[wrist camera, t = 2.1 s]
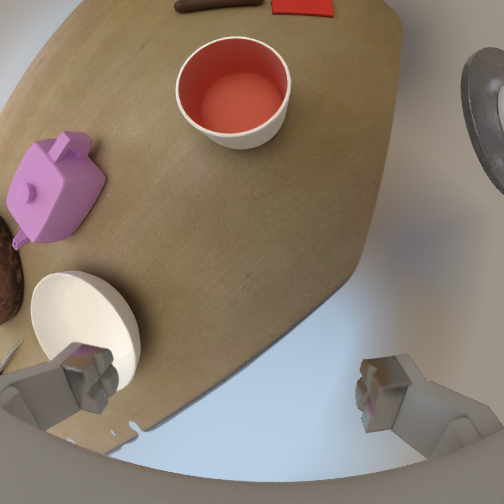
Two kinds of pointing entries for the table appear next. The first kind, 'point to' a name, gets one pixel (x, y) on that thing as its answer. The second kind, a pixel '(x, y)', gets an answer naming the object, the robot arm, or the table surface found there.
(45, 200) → the teapot
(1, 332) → the table surface
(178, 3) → the spatula
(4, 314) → the saucepan
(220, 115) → the cup
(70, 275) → the bowl
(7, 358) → the kitchen knife
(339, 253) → the table surface
